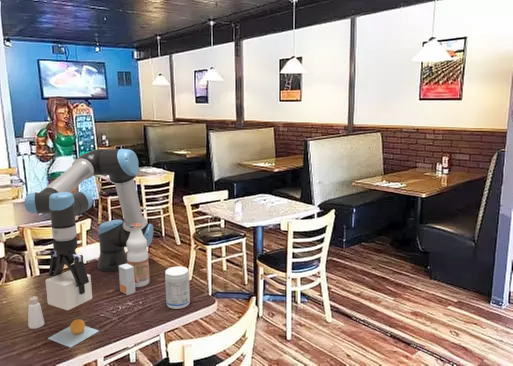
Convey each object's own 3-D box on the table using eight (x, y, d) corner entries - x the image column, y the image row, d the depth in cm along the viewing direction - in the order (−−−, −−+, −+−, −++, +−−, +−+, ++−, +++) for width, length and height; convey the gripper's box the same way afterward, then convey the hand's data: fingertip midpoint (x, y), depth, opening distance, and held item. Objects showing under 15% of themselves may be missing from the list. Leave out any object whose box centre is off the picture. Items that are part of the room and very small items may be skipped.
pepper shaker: (27, 330, 154) (24, 302, 152) (28, 323, 159) (25, 296, 157) (44, 327, 156) (41, 299, 154) (45, 320, 161) (42, 293, 159)
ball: (64, 330, 149) (74, 333, 153) (74, 333, 147) (84, 336, 151) (70, 316, 151) (80, 319, 155) (80, 319, 149) (90, 322, 153)
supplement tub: (169, 299, 178) (167, 265, 175) (191, 299, 178) (190, 265, 175) (164, 310, 168) (162, 275, 166) (187, 309, 168) (186, 275, 166)
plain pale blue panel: (76, 323, 159) (76, 322, 159) (99, 331, 153) (99, 330, 153) (47, 338, 148) (47, 338, 148) (70, 347, 143) (70, 347, 143)
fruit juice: (124, 287, 190) (120, 226, 185) (134, 278, 199) (130, 221, 194) (144, 288, 188) (140, 227, 183) (153, 280, 197) (150, 222, 192)
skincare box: (119, 291, 186) (118, 265, 183) (128, 288, 189) (126, 262, 186) (127, 295, 181) (125, 269, 179) (135, 292, 185) (134, 266, 182)
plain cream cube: (72, 292, 155) (70, 269, 153) (92, 298, 150) (90, 274, 148) (47, 303, 146) (45, 279, 144) (67, 310, 141) (65, 285, 140)
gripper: (33, 236, 146) (39, 296, 150) (78, 246, 135) (83, 310, 139) (52, 230, 153) (58, 288, 157) (97, 239, 142) (101, 301, 146)
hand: (70, 298), depth 148 cm, fingers closed on plain cream cube, 10 cm apart
